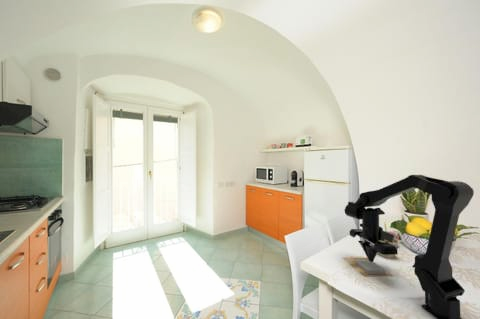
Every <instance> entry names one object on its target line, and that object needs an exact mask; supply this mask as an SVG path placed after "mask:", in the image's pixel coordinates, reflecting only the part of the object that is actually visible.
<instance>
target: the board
mask: <svg viewBox="0 0 480 319" xmlns="http://www.w3.org/2000/svg"><path fill="white" fill-rule="evenodd" d="M342 259H343V260H344V261H345V262H346V263H347V264H348V265H350V266H351V267H352V268H353V269H354V270H355V271H356V272H358V273H359V274H360V275H361V276H363V277H364V278H365V277H366V278H367V277H371V278H372V277H394V275H393V274H392V273H391V272H389V271H388V270H386V269H385V274H367V273H366V272H365V271H363V270H362V269H361V268H360V267H358V266H357V265H356V261H369V260H368V258H367V257H342Z"/></svg>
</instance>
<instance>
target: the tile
mask: <svg viewBox="0 0 480 319" xmlns="http://www.w3.org/2000/svg"><path fill="white" fill-rule="evenodd" d="M356 265H357V266H358V267H360V268H361V269H362V270H363V271H365V272H366V273H367V274H385V270H386V269H384V268H383V267H382V266H380V265H379V264H378V263H376V262H375V261H373V262H370V261H356Z"/></svg>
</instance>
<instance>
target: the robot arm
mask: <svg viewBox="0 0 480 319" xmlns="http://www.w3.org/2000/svg"><path fill="white" fill-rule="evenodd" d="M416 189H418V190H419V191H421V192H423V193H425V194H428V195H431V203H432V204H433V206H434V214H433V219H432V223H431V228H430V233H429V237H428V242H427V246H426V252H425V253H421V254H417V255H415V256H414V263H413V265H412V268H413V271H414V275H415V276H416V277H417V279H418V282H419V285H420V287H421V289H422V292H424V303H425V304H424V303H423V304H421V307H422V308H423V309H424V310H426V311H427V312H428V313H429V314H430V315H432V316H433V317H435V319H463V317H462V316H461V300H460V299H459V298H457V297H462V296H463V295H464V293H465V292H466V291H465V289H464V288H463V287H462V285H461V284H460V283H459V282H458V281H457V280H456V279H455V278H454V277H453V267H452V264H451V262H450V256H451V255H450V254H451V251H452V246H453V244H454V238H455V234H456V229H457V226H458V221H459V218H460V215H461V213H462V212H463V211H464V210H465V208H467V207H468V206H469V204H470V202H471V200H472V198H473V196H474V188H472V187H471V186H470V185H469V184H468V183H466V182H463V181H460V180H458V181H456V180H453V181H448V180H444V179H440V178H434V177H429V176H427V175H423V174H409V175H408V176H406V178H402V179H400V180H397V181H395V182H393V183H391V184H389V185H386V186H384V187H382V188H380V189H376V190H369V191H365V192H361V193H359V197H358V199H357V200H356V202H354V201H348V203H347V205H346V206H345V208H344V213H345V215H346V216H347V217H350V218H354V219H356V220H359V221H360V220H362V221H361V223H359V227H361V228H362V229H361V228H351V229H350V230H349V236H350V237H352V238H356V237H357V236H358V238H359V240H358V242H357V243H359V245H360V247H361V248H362V250H363V251H364V253H365V254H364V255H366V258H368V260H369V261H370V262H375V258H376V257H377V254H378V252H379V253H380V254H383V255H394V254H395V255H398V247H397V248H396V247H395V246H394V245H392V244H390V243H388V242H380V241H384V240H387V241H390V242H391V243H392V242H393V239H394V236H395V235H392V234H390V233H388V232H389V231H387V232H385V230H384V228H383V227H382V226H380V215H386V213H385V212H384V211H383V210H382V209H381V207H379V206H381V205H383V204H385V203H386V202H387V201H388V200H390V199H391V198H393V197H397V196H400V195H402V194H405V193H408V192H410V191H413V190H416ZM374 207H375V208H374ZM379 240H380V241H379Z"/></svg>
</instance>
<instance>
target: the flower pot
mask: <svg viewBox="0 0 480 319" xmlns="http://www.w3.org/2000/svg"><path fill="white" fill-rule="evenodd" d="M379 241H380V240H379ZM380 242H388V243H390V244H392V245H394V246H395V247H396V248H397V249H398V244H399V243H400V241H399V240H396V239H393V242H392V243H391V242H390V241H387V240H384V241H380ZM377 254H378V255H379V256H380V257H382V258H386V259H395V258H396V254H394V255H383V254H380V253H379V252H377Z"/></svg>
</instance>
